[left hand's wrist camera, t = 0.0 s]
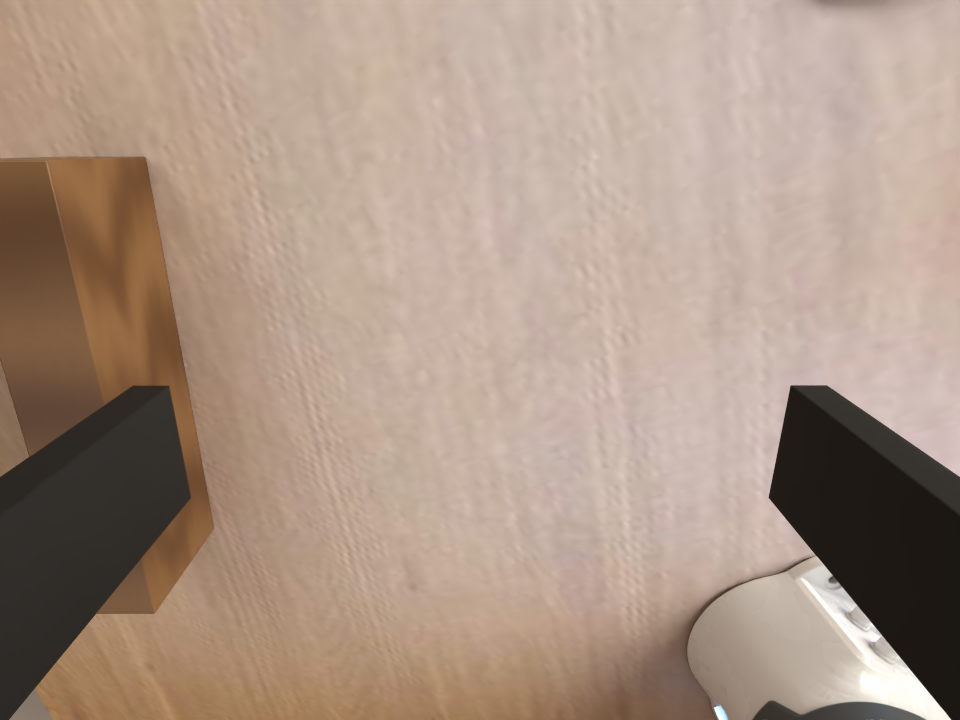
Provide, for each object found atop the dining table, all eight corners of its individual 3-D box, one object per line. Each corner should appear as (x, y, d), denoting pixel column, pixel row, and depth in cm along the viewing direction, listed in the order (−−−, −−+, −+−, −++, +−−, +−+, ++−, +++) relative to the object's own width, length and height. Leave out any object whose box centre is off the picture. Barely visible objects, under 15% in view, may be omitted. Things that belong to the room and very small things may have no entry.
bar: (64, 156, 37) (-61, 160, 29) (146, 156, 37) (46, 160, 29) (149, 528, 47) (75, 614, 38) (214, 528, 47) (155, 614, 38)
